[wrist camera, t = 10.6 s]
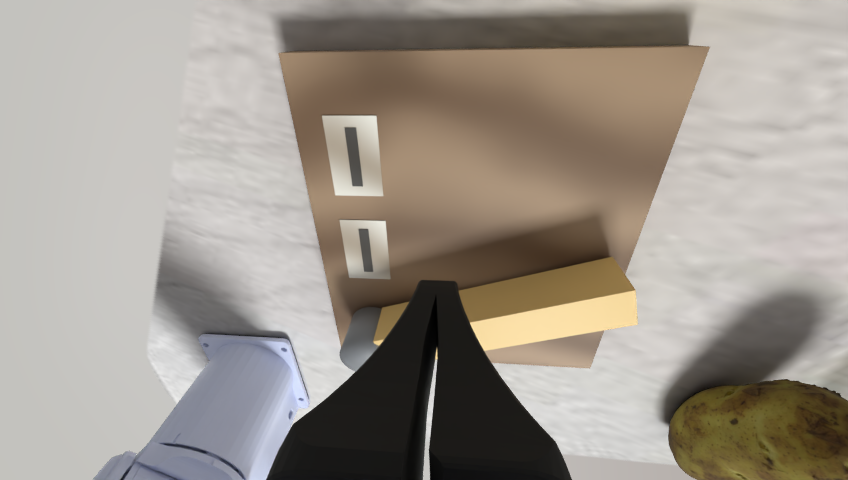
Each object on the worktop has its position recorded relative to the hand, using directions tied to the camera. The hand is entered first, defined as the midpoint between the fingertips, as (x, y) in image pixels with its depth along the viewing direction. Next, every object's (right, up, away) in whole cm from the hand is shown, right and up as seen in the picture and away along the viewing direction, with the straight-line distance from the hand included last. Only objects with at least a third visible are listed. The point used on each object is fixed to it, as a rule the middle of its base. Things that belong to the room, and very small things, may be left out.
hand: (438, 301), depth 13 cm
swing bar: (+3, -2, +10) cm, 10 cm away
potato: (+24, -10, +16) cm, 31 cm away
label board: (+2, +3, +9) cm, 10 cm away
